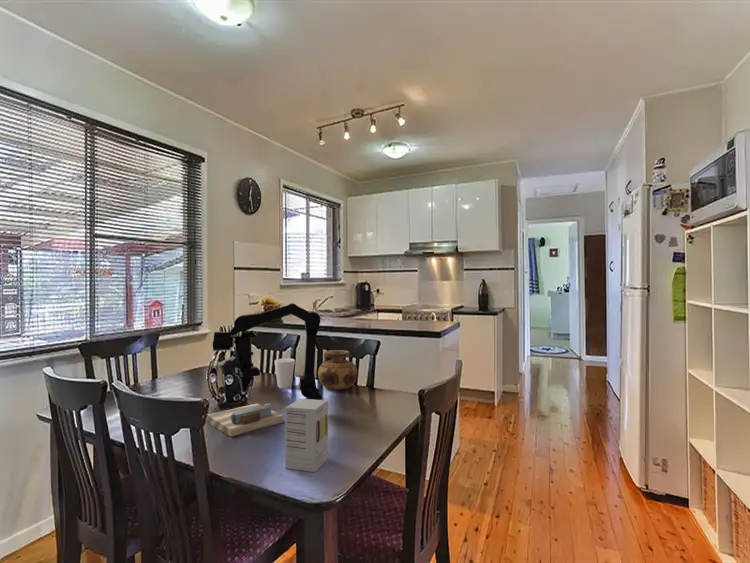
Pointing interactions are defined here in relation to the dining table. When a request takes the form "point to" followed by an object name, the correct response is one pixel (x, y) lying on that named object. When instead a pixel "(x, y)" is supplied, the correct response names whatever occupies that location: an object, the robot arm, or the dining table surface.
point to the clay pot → (337, 370)
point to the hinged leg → (263, 411)
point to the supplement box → (306, 434)
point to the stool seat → (225, 424)
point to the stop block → (250, 417)
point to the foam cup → (284, 372)
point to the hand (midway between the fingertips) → (243, 391)
